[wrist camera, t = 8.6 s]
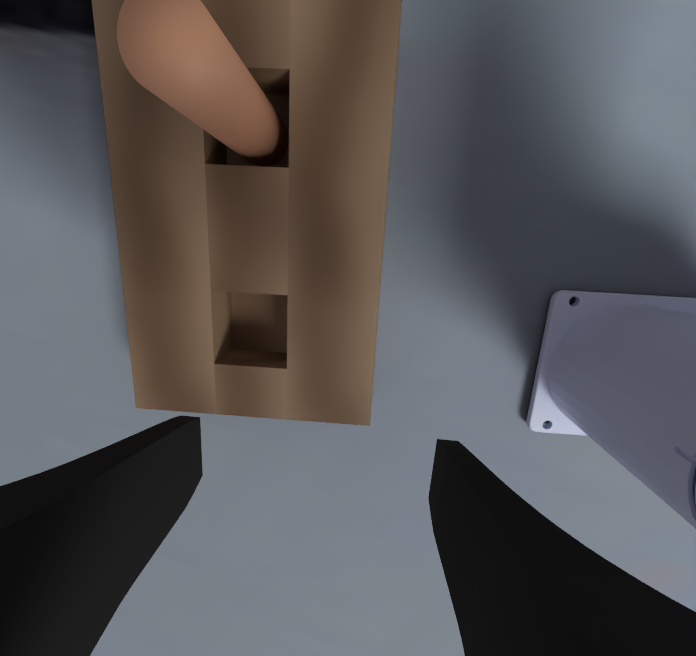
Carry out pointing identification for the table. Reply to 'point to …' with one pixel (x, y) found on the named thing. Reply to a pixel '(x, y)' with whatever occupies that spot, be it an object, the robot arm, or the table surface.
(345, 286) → the bore block
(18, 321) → the table surface
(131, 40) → the pin
